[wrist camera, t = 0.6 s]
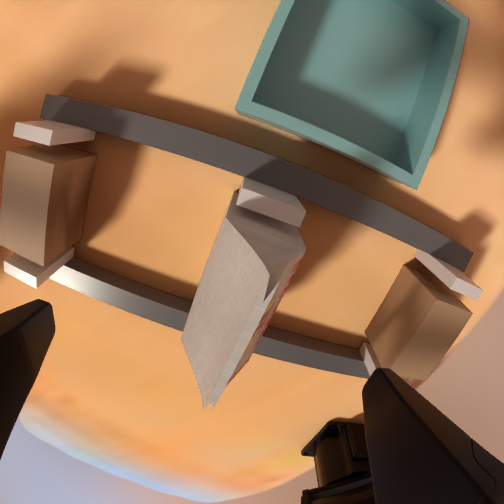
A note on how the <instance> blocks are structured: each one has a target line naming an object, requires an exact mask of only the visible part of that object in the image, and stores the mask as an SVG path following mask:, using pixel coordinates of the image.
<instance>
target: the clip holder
mask: <svg viewBox="0 0 504 504" xmlns="http://www.w3.org/2000/svg"><path fill="white" fill-rule="evenodd" d="M40 118H42V119H47V120H43V121H22V122H16V123H15V128H14V133H13V136H14V137H18V138H22V139H26V140H30V141H33V142H37V143H41V144H45V145H48V146H51V145H58V144H65V143H73V142H81V141H90V140H94V138H95V134H96V131H97V132H101V133H105V134H109V135H113V136H116V137H120V138H124V139H127V140H131V141H134V142H138V143H141V144H145V145H148V146H151V147H155V148H158V149H161V150H165V151H168V152H171V153H174V154H178V155H181V156H184V157H187V158H190V159H193V160H196V161H200V162H203V163H206V164H209V165H212V166H215V167H218V168H220V169H223V170H226V171H229V172H232V173H235V174H238V175H241V176H243V177H244V178H243V180H242V183H241V186H240V190H239V194H238V199H237V203H236V205H238V206H241V207H244V208H247V209H250V210H252V211H255V212H258V213H261V214H263V215H266V216H269V217H272V218H274V219H277V220H280V221H283V222H285V223H288V224H291V225H293V226H296V227H299V228H300V226H301V223H302V221H303V219H304V217H305V214H306V210H305V209H304V207H303V206H302V204H301V203H300V201H299V200H298V198H297V197H300V198H302V199H305V200H307V201H310V202H312V203H315V204H317V205H320V206H322V207H325V208H327V209H329V210H332V211H334V212H337V213H339V214H341V215H344V216H346V217H349V218H351V219H353V220H356V221H358V222H360V223H362V224H365V225H367V226H369V227H372V228H374V229H376V230H378V231H381V232H383V233H385V234H387V235H389V236H392V237H394V238H396V239H398V240H400V241H402V242H405V243H407V244H409V245H411V246H413V247H415V248H417V249H418V250H417V252H416V254H415V257H416V258H417V259H418V260H419V261H420V262H421V263H423V264H424V265H425V266H426V267H427V268H428V269H429V270H430V271H431V272H432V273H434V274H435V275H436V276H437V277H438V278H439V279H440V280H441V281H442V282H443V283H444V284H445V285H447V286H448V287H449V288H450V289H451V290H454V291H456V292H458V293H460V294H462V295H465V296H467V297H469V298H471V299H474V300H476V301H477V300H478V298H479V297H480V295H481V293H482V291H483V290H482V289H481V288H480V287H479V286H477V285H476V284H475V283H474V282H473V281H471V280H470V279H469V278H468V277H467V276H465V275H464V274H463V273H462V272H461V271H463V272H464V270H465V269H466V267H467V265H468V263H469V261H470V259H471V257H472V255H473V252H472V251H470V250H469V249H467V248H466V247H464V246H463V245H461V244H459V243H458V242H456V241H454V240H452V239H451V238H449V237H447V236H445V235H444V234H442V233H440V232H438V231H437V230H435V229H433V228H431V227H429V226H427V225H426V224H424V223H422V222H420V221H418V220H416V219H414V218H412V217H410V216H409V215H407V214H405V213H403V212H401V211H399V210H397V209H395V208H393V207H391V206H389V205H387V204H385V203H383V202H381V201H379V200H377V199H374V198H372V197H370V196H368V195H366V194H364V193H362V192H360V191H357V190H355V189H353V188H351V187H349V186H347V185H344V184H342V183H340V182H338V181H335V180H333V179H331V178H328V177H326V176H324V175H321V174H319V173H317V172H314V171H312V170H309V169H307V168H305V167H302V166H300V165H297V164H295V163H292V162H290V161H287V160H284V159H282V158H279V157H277V156H274V155H271V154H269V153H266V152H263V151H261V150H258V149H255V148H252V147H250V146H247V145H244V144H241V143H238V142H235V141H232V140H229V139H227V138H224V137H221V136H217V135H214V134H211V133H208V132H205V131H202V130H199V129H195V128H192V127H189V126H186V125H182V124H179V123H175V122H172V121H168V120H165V119H161V118H157V117H154V116H150V115H146V114H142V113H138V112H134V111H130V110H126V109H122V108H118V107H114V106H109V105H105V104H100V103H95V102H91V101H86V100H81V99H75V98H70V97H64V96H59V95H48V94H46V97H45V101H44V104H43V108H42V112H41V116H40ZM296 196H297V197H296ZM458 269H459V270H461V271H459V270H458ZM4 272H6V273H8V274H10V275H12V276H13V277H15V278H17V279H19V280H21V281H23V282H25V283H27V284H28V285H30V286H32V287H34V288H36V289H37V288H38V287H39V286H40V285H41V284H42V283H43V282H44V281H46V280H47V279H48V278H50V279H52V280H54V281H56V282H59V283H61V284H63V285H65V286H67V287H70V288H72V289H74V290H76V291H79V292H81V293H83V294H86V295H88V296H90V297H93V298H95V299H97V300H100V301H102V302H105V303H107V304H110V305H112V306H115V307H117V308H120V309H122V310H125V311H127V312H130V313H133V314H135V315H138V316H140V317H143V318H146V319H149V320H151V321H154V322H157V323H160V324H163V325H165V326H168V327H171V328H174V329H177V330H180V331H184V328H185V324H186V321H187V318H188V315H189V312H190V309H191V306H192V303H193V302H192V301H189V300H186V299H183V298H180V297H177V296H174V295H171V294H168V293H166V292H163V291H160V290H157V289H154V288H152V287H149V286H146V285H143V284H141V283H138V282H135V281H133V280H130V279H127V278H125V277H122V276H120V275H117V274H114V273H112V272H109V271H107V270H104V269H102V268H99V267H97V266H94V265H92V264H89V263H87V262H84V261H82V260H79V259H77V258H75V257H74V247H72V246H70V247H69V248H68V249H66V250H65V251H64V252H62V253H61V254H60V255H58V256H57V257H56V258H54V259H53V260H52V261H50V262H49V263H48V264H47V265H45V266H44V267H43V266H41V265H39V264H37V263H35V262H33V261H31V260H29V259H26V258H24V257H22V256H20V255H18V254H16V253H15V254H13V255H12V256H10V257H9V258H7V259H6V260H4ZM253 353H256V354H259V355H263V356H267V357H271V358H275V359H278V360H282V361H286V362H291V363H295V364H299V365H303V366H308V367H312V368H316V369H321V370H326V371H330V372H335V373H340V374H345V375H350V376H356V377H361V378H367V379H369V378H370V376H371V374H372V373H373V371H374V370H375V369H376V368H379V367H380V368H382V367H381V365H380V363H379V361H378V359H377V356H376V354H375V352H374V350H373V348H372V346H371V344H369V343H365V342H364V343H363V344H362V346H361V347H360V349H359V350H358V349H354V348H350V347H346V346H342V345H338V344H334V343H330V342H326V341H322V340H318V339H314V338H311V337H307V336H303V335H300V334H296V333H292V332H289V331H285V330H282V329H278V328H275V327H271V326H268V325H267V327H266V329H265V331H264V333H263V335H262V337H261V339H260V340H259V342H258V344H257V346H256V348H255V350H254V351H253ZM401 378H402V379H403V380H404V381H405V382H407V383H408V384H409V385H410V386H411V384H410V382H409V380H408V378H403V377H401ZM411 387H412V386H411Z"/></svg>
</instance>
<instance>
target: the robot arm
mask: <svg viewBox="0 0 504 504" xmlns="http://www.w3.org/2000/svg"><path fill="white" fill-rule="evenodd" d="M54 334H55V321H54V315H53V309H52V305H51V304H50V303H49V302H46V301H43V300H41V299H37V300H34V301H31V302H29V303H26V304H24V305H21V306H19V307H16V308H14V309H11V310H9V311H6V312H4V313H1V314H0V459H1V457H2V454H3V451H4V449H5V446H6V444H7V441H8V439H9V436H10V434H11V432H12V429H13V427H14V425H15V422H16V420H17V418H18V416H19V413H20V411H21V409H22V407H23V405H24V403H25V401H26V398H27V396H28V394H29V392H30V390H31V388H32V386H33V384H34V382H35V380H36V378H37V376H38V373H39V371H40V368H41V366H42V363H43V361H44V358H45V356H46V353H47V351H48V348H49V346H50V344H51V341H52V339H53V337H54ZM362 399H363V410H364V423H365V425H361V424H350V423H340V422H329V423H327V424H326V425H325V426H324V427H323V428H322V430H321V431H320V432H319V433H318V434H317V435H316V436H315V437H314V438H313V439H312V440H311V441H310V442H309V443H308V444H307V445H306V446H305V448H304V449H303V450H302V451H301V455H302V456H312V457H314V461H315V468H316V474H317V481H318V488H314V489H310V490H308V489H307V490H303V492H302V493H303V494H302V497H301V504H504V463H502V462H501V461H499V460H498V459H497V458H495V457H494V456H493V455H491V454H490V453H489V452H488V451H486V450H485V449H484V448H483V447H482V446H480V445H479V444H478V443H477V442H476V441H474V440H473V439H472V438H470V436H468V435H467V434H466V433H465V432H464V431H463V430H461V429H460V428H459V427H458V426H457V425H456V424H454V423H453V422H452V421H451V420H450V419H449V418H447V417H446V416H445V415H444V414H442V412H440V411H439V410H438V409H437V408H436V407H435V406H433V405H432V404H431V403H430V402H429V401H428V400H426V399H425V398H424V397H423V396H422V395H421V394H419V393H418V392H417V391H416V390H415V389H414V388H412V387H411V386H410V385H409V384H408V383H407V382H405V381H404V380H403V379H402V378H401V377H400V376H398V375H397V374H396V373H395V372H394V371H393V370H391V369H390V368H380V367H379V368H376V369H375V370H374V371H373V373H372V374H371V376H370V378H369V379H368V381H367V382H366V384H365V385H364V387H363V390H362Z"/></svg>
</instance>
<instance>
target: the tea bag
mask: <svg viewBox="0 0 504 504" xmlns="http://www.w3.org/2000/svg"><path fill="white" fill-rule="evenodd" d="M238 194H239V193H236V192H234V193H233V196H232V198H231V201H230V203H229V206H228V208H227V211H226V213H225V216H224V218H223V221H222V224H221V226H220V229H219V231H218V234H217V237H216V239H215V242H214V244H213V247H212V250H211V252H210V255H209V258H208V260H207V263H206V266H205V268H204V271H203V274H202V277H201V279H200V282H199V285H198V288H197V291H196V294H195V297H194V300H193V303H192V306H191V309H190V312H189V315H188V318H187V321H186V324H185V328H184V331H183V334H182V337H181V340H182V343H183V346H184V348H185V351H186V354H187V356H188V359H189V362H190V364H191V367H192V369H193V372H194V374H195V377H196V380H197V383H198V386H199V390H200V393H201V396H202V403H203V410H204V409H205V408H206V406H207V405H208V404H209V403H210V402H211V401H212V400H213V405H212V410H213V408H214V407H215V405H216V403H217V401H218V399H219V397H220V396H221V394H222V392H223V390H224V388H225V387H226V386H227V385H228V383H229V382H230V381H231V380H232V379H233V378H234V377H235V376H236V374H237V373H238V372H239V371H240V370H241V369H242V368H243V366H244V365H245V364H246V363H247V362H248V361H249V359H250V357H251V355H252V353H253V351H254V350H255V348H256V346H257V344H258V342H259V340H260V339H261V337H262V335H263V333H264V331H265V329H266V327H267V325H268V324H269V322H270V320H271V318H272V316H273V314H274V312H275V310H276V308H277V307H278V305H279V303H280V301H281V299H282V297H283V295H284V293H285V291H286V289H287V287H288V285H289V283H290V281H291V279H292V277H293V275H294V273H295V271H296V269H297V267H298V265H299V263H300V261H301V259H302V257H303V255H304V253H305V251H306V247H305V244H304V242H303V240H302V238H301V236H300V233H299V231H298V229H297V227H296V226H293V225H291V224H288V223H285V222H283V221H280V220H277V219H274V218H272V217H269V216H266V215H263V214H261V213H258V212H255V211H252V210H250V209H247V208H244V207H241V206H238V205H236V203H237V199H238Z"/></svg>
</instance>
